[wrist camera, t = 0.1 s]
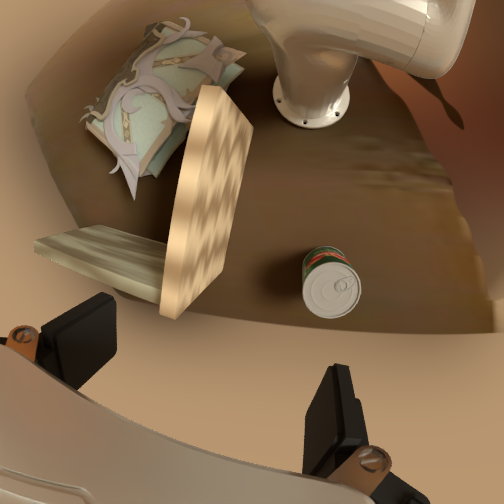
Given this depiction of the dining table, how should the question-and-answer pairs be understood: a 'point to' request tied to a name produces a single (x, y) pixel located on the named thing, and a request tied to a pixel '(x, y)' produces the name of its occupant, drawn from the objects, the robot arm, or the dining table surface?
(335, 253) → the canned tomato
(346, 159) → the dining table surface
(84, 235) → the wooden corner bracket
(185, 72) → the ornate book
